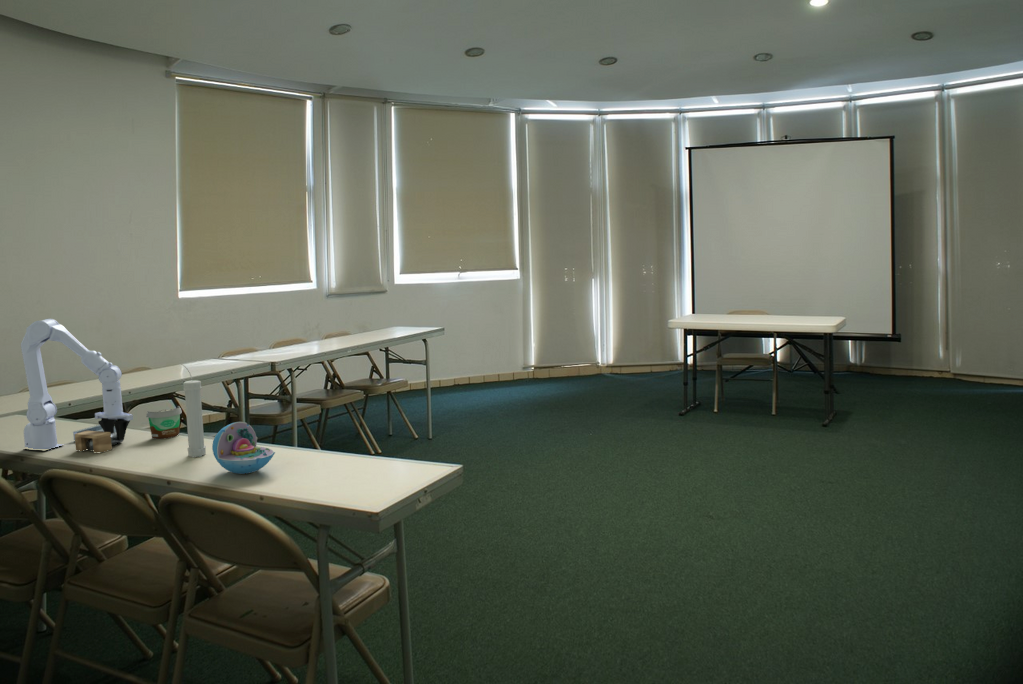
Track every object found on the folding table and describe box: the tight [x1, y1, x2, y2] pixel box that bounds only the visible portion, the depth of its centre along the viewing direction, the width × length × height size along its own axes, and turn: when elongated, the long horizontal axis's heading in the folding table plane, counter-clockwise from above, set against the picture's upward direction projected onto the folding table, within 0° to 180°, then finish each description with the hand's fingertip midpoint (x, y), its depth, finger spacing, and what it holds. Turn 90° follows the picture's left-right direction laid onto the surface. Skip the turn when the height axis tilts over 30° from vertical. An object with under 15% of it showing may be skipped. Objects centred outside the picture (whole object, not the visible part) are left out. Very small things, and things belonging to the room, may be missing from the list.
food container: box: [146, 405, 183, 440], centre depth 263 cm, size 12×6×10 cm, turn 143°
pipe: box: [180, 363, 206, 458], centre depth 237 cm, size 6×6×30 cm
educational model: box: [211, 421, 276, 475], centre depth 218 cm, size 16×19×15 cm
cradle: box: [72, 424, 127, 441], centre depth 264 cm, size 9×14×4 cm, turn 163°
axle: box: [86, 432, 124, 451], centre depth 250 cm, size 4×12×4 cm, turn 163°
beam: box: [74, 431, 113, 453], centre depth 246 cm, size 10×5×6 cm, turn 73°
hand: (115, 439), depth 255 cm, fingers closed on axle, 4 cm apart
